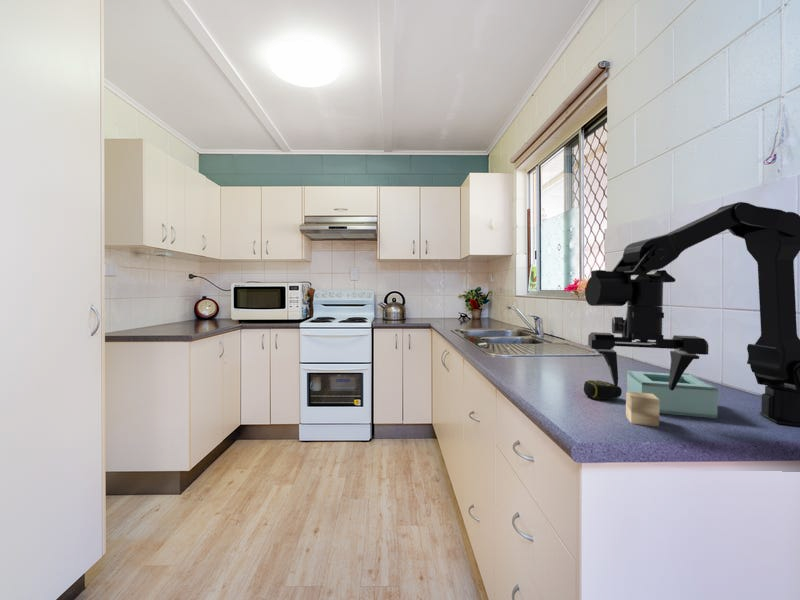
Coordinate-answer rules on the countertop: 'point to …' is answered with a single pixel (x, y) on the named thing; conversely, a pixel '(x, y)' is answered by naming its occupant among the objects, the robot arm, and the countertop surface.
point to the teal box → (677, 393)
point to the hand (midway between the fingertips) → (643, 387)
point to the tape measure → (601, 390)
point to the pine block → (642, 408)
